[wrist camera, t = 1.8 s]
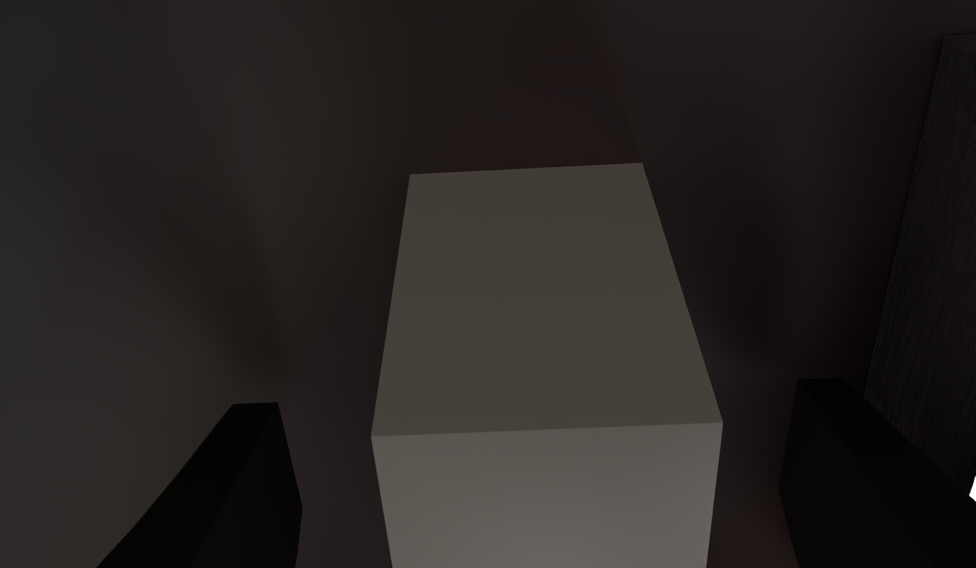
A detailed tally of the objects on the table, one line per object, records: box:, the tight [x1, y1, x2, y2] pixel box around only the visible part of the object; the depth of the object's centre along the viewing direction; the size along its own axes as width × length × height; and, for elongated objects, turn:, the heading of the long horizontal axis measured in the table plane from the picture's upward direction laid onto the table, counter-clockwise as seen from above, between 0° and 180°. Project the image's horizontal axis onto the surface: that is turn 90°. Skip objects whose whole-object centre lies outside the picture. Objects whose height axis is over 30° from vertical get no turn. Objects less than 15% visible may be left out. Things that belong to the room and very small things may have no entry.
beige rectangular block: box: [371, 163, 723, 568], centre depth 12 cm, size 7×3×5 cm, turn 3°
